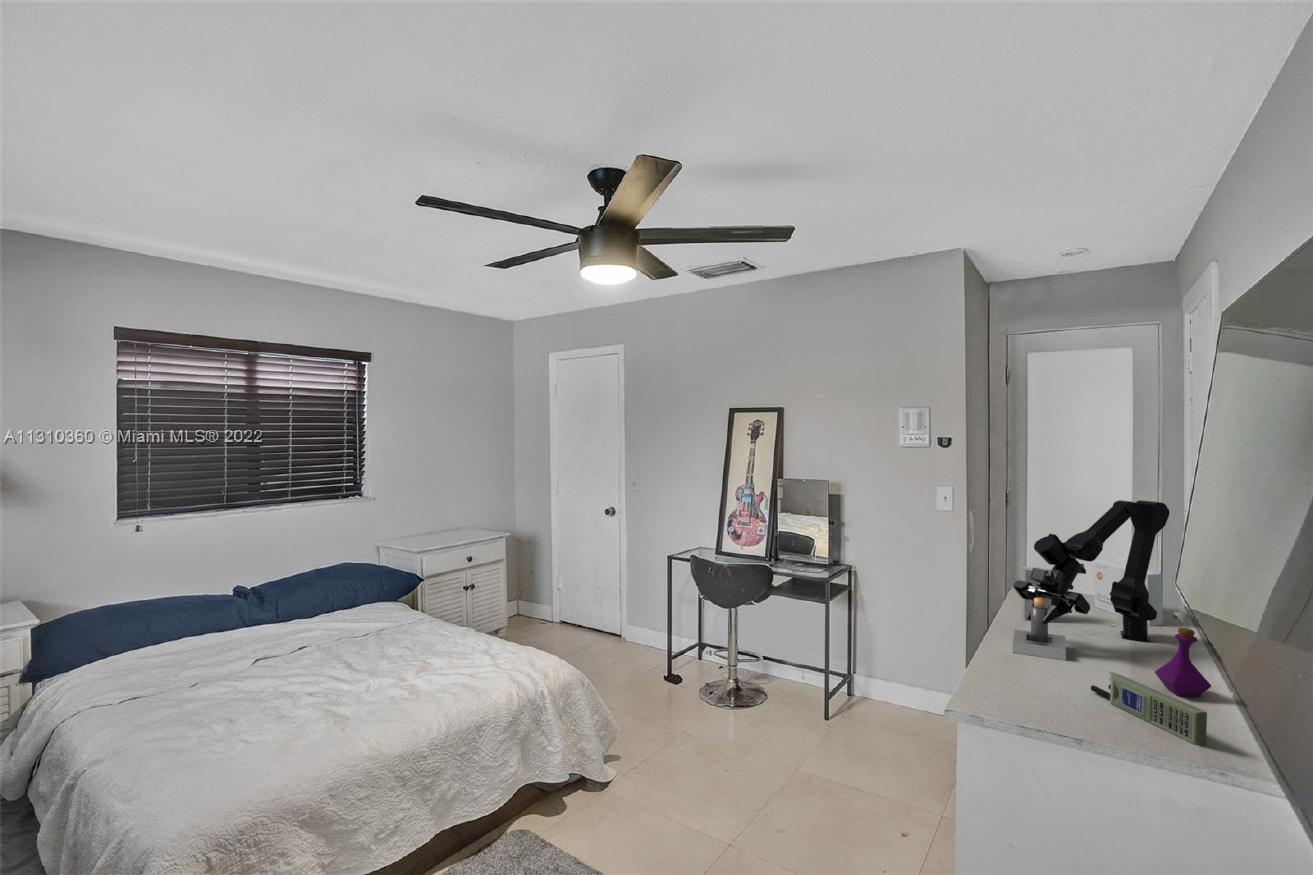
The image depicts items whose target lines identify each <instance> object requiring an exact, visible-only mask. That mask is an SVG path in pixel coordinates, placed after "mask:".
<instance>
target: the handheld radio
mask: <svg viewBox="0 0 1313 875" xmlns="http://www.w3.org/2000/svg"><path fill="white" fill-rule="evenodd" d="M1108 674H1110V676H1109V677H1108V679H1109V681H1110V684H1109V685H1108V689H1109V690H1110V691H1109V692H1108V691H1107V690H1105V689H1102V688H1100V687H1098V686H1096V685H1091V686H1090V690H1091V691H1092V692H1094V693H1096V694H1098V695H1100V696H1102V697H1104V698H1107V699H1108V700H1110V701H1109V704H1110V705H1112V706H1115V707H1116V708H1119V709H1121V710H1122V711H1124V710H1125V712H1127V713H1128V714H1131V715H1133V716H1135V717H1136V718H1139V719H1140V720H1143V719H1144V720H1143V721H1145V722H1146V723H1149V724H1151V723H1152V725H1153V724H1154V725H1153V726H1155V727H1157V726H1158V727H1157V728H1159V729H1161V728H1162V730H1163V729H1164V730H1163V731H1165V730H1166V731H1165V732H1167V731H1168V733H1169V732H1171V733H1173V734H1174V735H1173V734H1172V735H1173V736H1175V735H1176V737H1177V738H1180V737H1181V738H1180V739H1182V740H1184V739H1185V740H1184V741H1186V742H1188V743H1190V742H1191V743H1190V744H1192V743H1193V744H1192V745H1194V744H1195V745H1194V746H1196V745H1203V746H1206V745H1207V726H1208V725H1207V722H1208V712H1207V711H1206V710H1204V709H1201V708H1199V707H1197V706H1194V705H1192V704H1189V703H1187V702H1184V701H1182V700H1180V699H1178V698H1175V697H1174V696H1171V695H1169V694H1166V693H1164V692H1162V691H1159V690H1157V689H1154V688H1152V687H1150V686H1147V685H1145V684H1143V683H1141V682H1138V681H1136V680H1134V679H1131V678H1129V677H1127V676H1125V675H1122V674H1119V673H1116V672H1114V671H1108ZM1171 733H1170V734H1171ZM1205 744H1206V745H1205Z"/></svg>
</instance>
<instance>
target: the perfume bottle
mask: <svg viewBox="0 0 1313 875" xmlns="http://www.w3.org/2000/svg"><path fill="white" fill-rule="evenodd" d="M1172 617H1173V619H1174V620H1176V621H1177V620H1180V621H1181V622H1182V623H1183V624H1184V625H1185V626H1184V627H1185V628H1184V627H1178V628H1177V632H1178V633H1177V634H1175V635H1174V639H1176V640H1177V642H1178V648H1177V651H1176V653H1175V655H1174V656H1173V657H1172V659H1170V660H1169V661H1168V662H1166V663H1165V664H1163V665H1162V666H1160V667H1159V668H1157V669H1156V670H1154V673H1155V676H1157V678H1158V679H1159V680H1160V682H1161V683H1162V684H1163V686H1164V687H1165V689H1167V690H1168V691H1169V692H1171V693H1172V694H1174V695H1175V696H1177V697H1189V698H1199V697H1201V695H1203V694H1204V693H1205V692H1207V691H1208V690H1210V688H1212V684H1211V683H1210V681H1208V680H1207V679H1206V678H1205V677H1204V675H1203V674H1202V673H1201V672H1200V671H1199V670H1198V668H1197V667H1196V666H1195V665H1194V664H1193V663H1192V660H1191V658H1190V648H1191V646H1192V645H1193V644H1194V643H1197V642H1198V637H1195V633H1196V631H1194V630H1193V629H1190V628H1187V624H1188V623H1189V621H1190V614H1188V613H1187V612H1172Z"/></svg>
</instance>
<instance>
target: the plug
mask: <svg viewBox="0 0 1313 875" xmlns="http://www.w3.org/2000/svg"><path fill="white" fill-rule="evenodd" d="M1047 611H1048V608H1046V607H1044V599H1043V598H1034V606H1031V620H1030V632H1031V641H1036V642H1043V643H1048V634H1049V623H1047V624H1043V623H1042V620H1043V618H1044V616H1045V614H1046V612H1047Z"/></svg>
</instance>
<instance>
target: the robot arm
mask: <svg viewBox="0 0 1313 875" xmlns="http://www.w3.org/2000/svg"><path fill="white" fill-rule="evenodd" d="M1169 517H1170V509H1169V508H1168V506H1167V504H1165V503H1164V502H1159V501H1150V500H1141V499H1140V500H1137V501H1136V502H1134V501H1130V500H1122V499H1119V500H1116V501H1114V502H1113V504H1112V506H1111V507H1110V508H1109V509H1108V510H1107V511H1106V512H1105V513H1104V514H1103V515H1102V516H1100V517H1099V519H1098V520H1097V521H1096V522H1094V523H1093V524H1092V525H1091V526H1090V527H1089V528H1088V529H1086V530H1084V531H1082V532H1078V533H1075V534H1074V535H1073V536H1071V537H1069V538H1068V539H1066V541H1064V542H1063V541H1061V540H1060V538H1059V536H1057V534H1054V533H1048V535H1047V536H1043V537H1041V538H1040V539H1038V540H1036V541H1035V543H1034V545H1033V549H1034V551H1035V552H1036V553H1037V554H1038V555H1039V556H1040V557H1041V558H1042V559H1043V560H1044V561H1045V562H1046V564H1048V565H1050V566H1051V565H1052V569H1051V571H1047V570H1043V569H1038V568H1039V567H1036V568H1033V570H1032V573H1031V577H1030V579H1031V580H1035V581H1037V585H1038V587H1041V589H1040V590H1039V589H1037V588H1035V587H1033V585H1032V584H1031V583H1030V582H1025V581H1022V579H1021V580H1020V579H1018V580H1016V581H1015V582H1014V584H1012V588H1013V589H1014V590H1015V591H1016V592H1017V594H1018V595H1019V597H1020V598H1021V599H1022V598H1023V599H1026V600H1028V613H1027V618H1028V620H1027V621H1031V606H1034V598H1041V597H1042V598H1046V599H1051V600H1052V601H1051V606H1050V607H1049V609H1048V611H1047V612H1046V614H1045V616H1044V618H1043V620H1042V623H1043V624H1047V623H1048V624H1049V623H1051V622H1050V621H1052V620H1056V619H1058V618H1059V617H1062V616H1064V615H1068V614H1072V613H1073V610H1074V611H1075V612H1076V613H1078V614H1083V615H1088V614H1089V612H1090V610H1091V605H1090V603H1089V602H1088V601H1087V599H1086V598H1085V596H1084V595H1083V593H1079V592H1075V591H1073V589H1074V588H1075V586H1074V585H1073V583H1074V581H1075V579H1076V578H1077V576H1078V574H1083V575H1086V574H1087V570H1086V568H1085V564H1084V563H1080V562H1079V561H1078V560H1080V561H1085V562H1094V561H1096V559H1097V558H1098V557H1099V555H1100V554H1101V552H1102V551H1103V548H1104V544H1105V542H1106V541H1107V540H1108V539H1109V538H1110V537H1111V536H1112V535H1113V534H1114V533H1115V532H1116V531H1118V530H1119V529H1120V527H1122V526H1123V525H1124V524H1125V523H1126V522H1127V521H1128V520H1129V519H1130V521H1131V524H1132V526H1133V528H1134V531H1133V536H1132V540H1131V543H1130V547H1129V552H1128V557H1127V561H1126V564H1125V565H1126V568H1125V573H1124V577H1123V578H1122V579H1121V580H1120V581H1119V582H1115V581H1114V582H1113V583H1112V590H1111V592H1110V594H1109V595H1111V598H1110V599H1111V602H1112V604H1113V607H1114V610H1115V612H1116V613H1121V614H1123V616H1122V630H1120V636H1121V638H1122V639H1123V640H1124V639H1125V640H1134V641H1140V642H1141V641H1143V642H1148V643H1149V642H1150V643H1151V642H1152V641H1151V637H1150V634H1149V632H1148V630H1149V629H1148V628H1149V626H1148V620H1149V621H1152V620H1153V619H1156V616H1157V611H1156V610H1155V609H1154V608H1153V607H1152V606H1151V605H1150V604H1149V602H1148V601H1149V593H1148V590H1147V588H1146V585H1145V579H1146V575H1147V571H1148V570H1149V566H1150V561H1151V557H1152V553H1153V549H1154V545H1155V541H1156V540H1155V539H1156V537H1157V534H1158V533H1159V532H1160V531H1161V530H1163V529H1164V527H1166V524H1167V522H1168V520H1169ZM1072 609H1073V610H1072Z"/></svg>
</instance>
